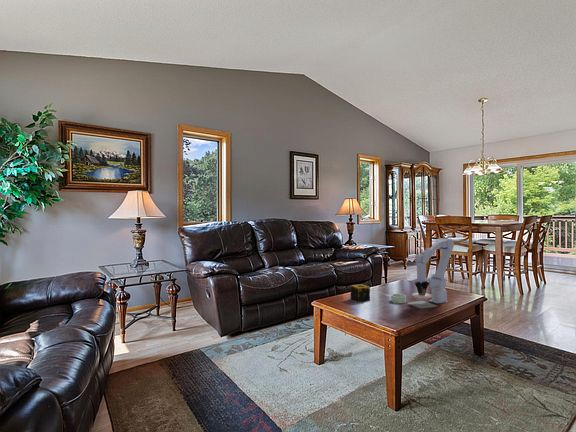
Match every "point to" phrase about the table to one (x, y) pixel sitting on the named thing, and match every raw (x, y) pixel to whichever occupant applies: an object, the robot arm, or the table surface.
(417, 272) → the robot arm
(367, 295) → the candle
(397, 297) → the bowl
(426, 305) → the mat
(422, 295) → the lid
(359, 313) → the table surface
